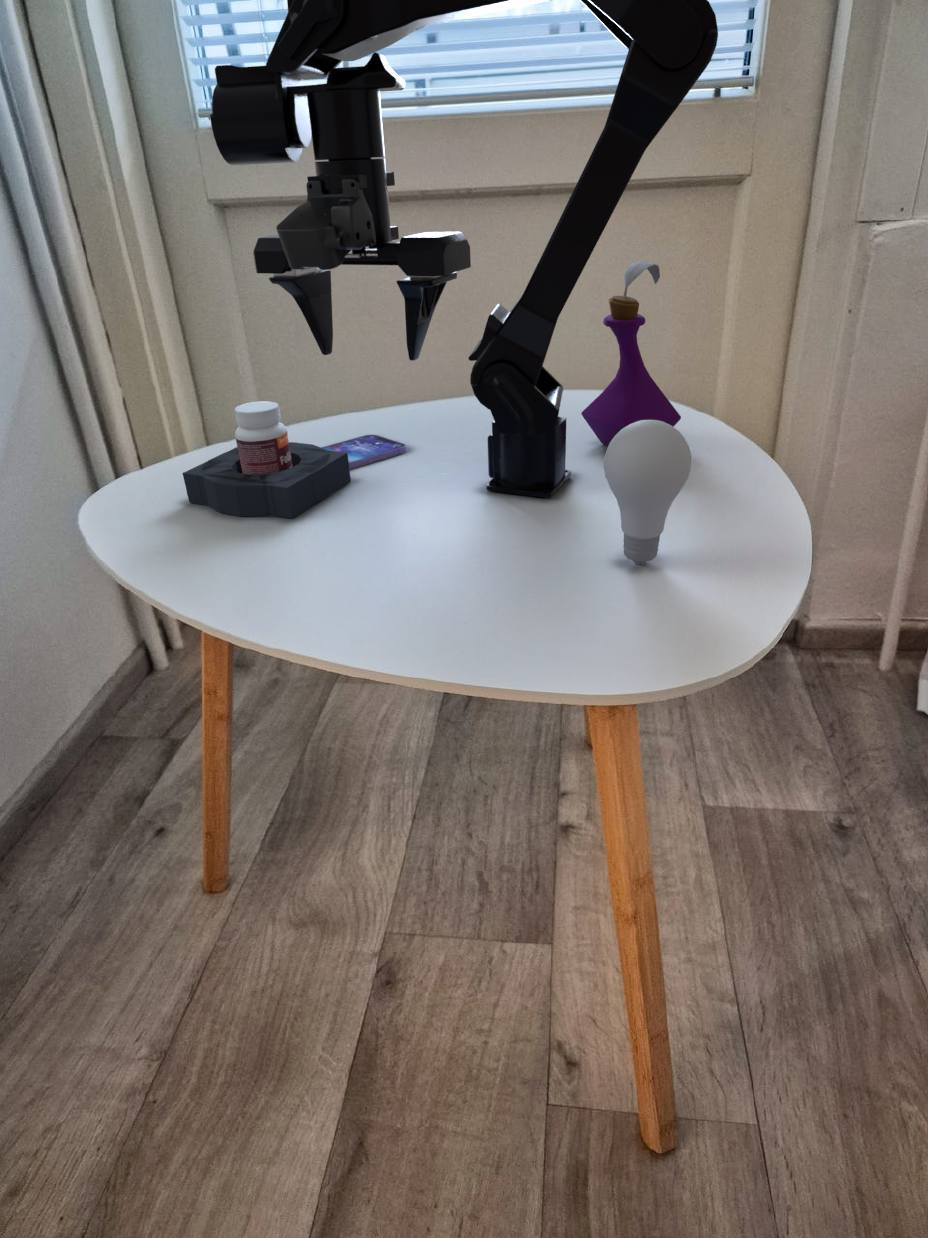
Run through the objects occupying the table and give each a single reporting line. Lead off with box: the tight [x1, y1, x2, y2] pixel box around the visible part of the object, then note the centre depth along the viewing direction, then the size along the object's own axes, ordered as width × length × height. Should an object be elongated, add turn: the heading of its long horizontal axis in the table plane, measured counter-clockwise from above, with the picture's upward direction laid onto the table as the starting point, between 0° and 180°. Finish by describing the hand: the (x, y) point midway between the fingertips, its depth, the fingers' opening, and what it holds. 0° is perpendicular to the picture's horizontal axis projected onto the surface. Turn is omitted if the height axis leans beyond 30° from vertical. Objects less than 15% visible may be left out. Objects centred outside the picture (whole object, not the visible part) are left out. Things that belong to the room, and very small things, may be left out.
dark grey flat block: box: [182, 441, 352, 520], centre depth 77 cm, size 12×12×3 cm
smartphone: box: [321, 434, 407, 470], centre depth 85 cm, size 7×1×15 cm
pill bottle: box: [234, 400, 292, 475], centre depth 75 cm, size 5×5×8 cm
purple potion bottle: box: [580, 261, 682, 447], centre depth 80 cm, size 8×8×18 cm
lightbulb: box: [603, 420, 692, 565], centre depth 58 cm, size 6×6×11 cm
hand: (369, 356), depth 72 cm, fingers open, 9 cm apart
